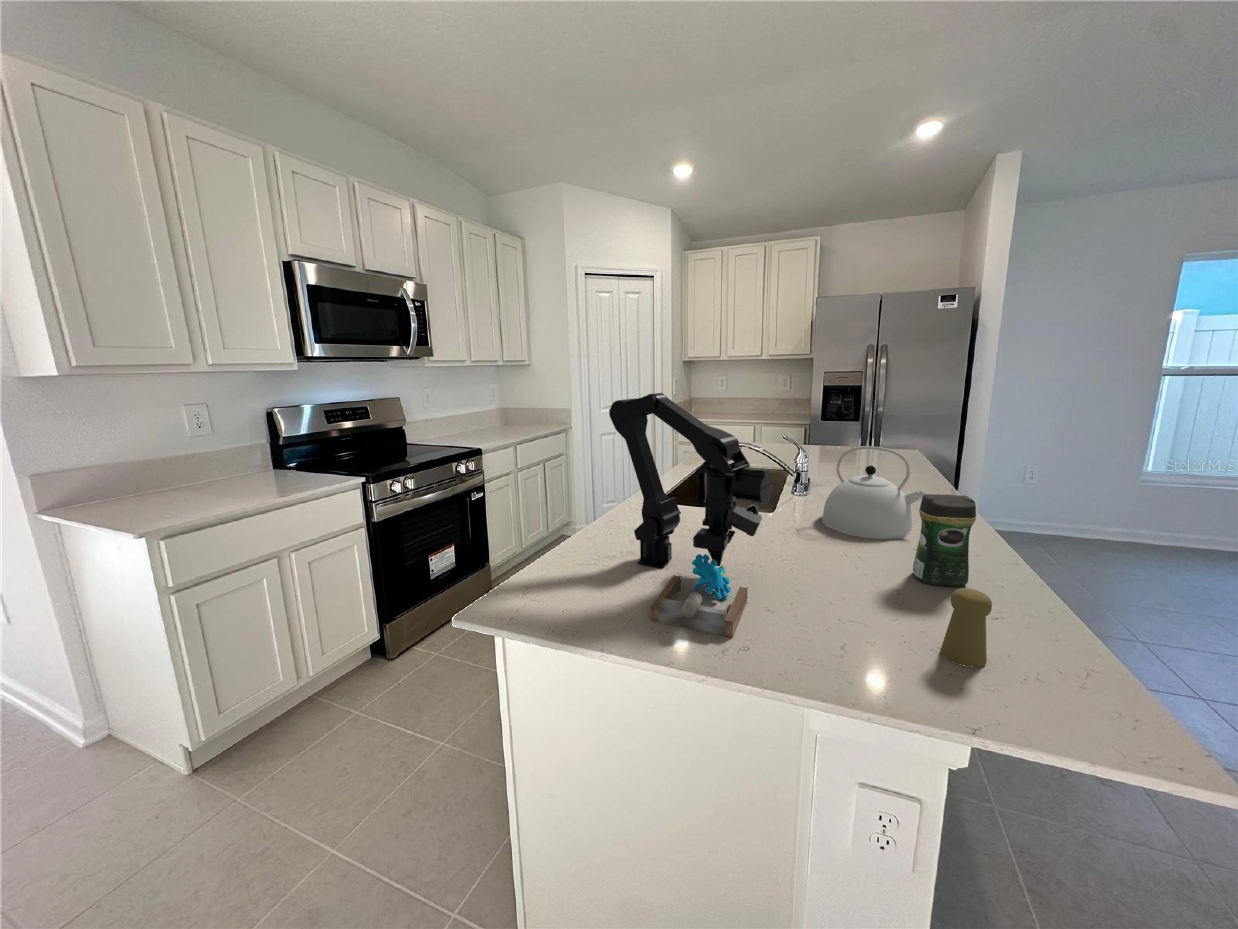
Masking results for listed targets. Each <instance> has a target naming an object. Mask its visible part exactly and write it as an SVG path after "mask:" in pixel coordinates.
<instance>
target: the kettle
mask: <svg viewBox="0 0 1238 929" xmlns="http://www.w3.org/2000/svg"><path fill="white" fill-rule="evenodd" d="M859 450H875V451H883V452H887V453H890V454H894V455H895V456H897V457H899V458H900V459H901V460H902V461H903V462H904V464H905V467H906V473H905V477H904V479H903V480H902V482H901V483H900V484H899V486H897V485H895V484H894V483H893V482H891V481H889V480H887V479H885V478H883V477H879V476H875V475H874V474H876V472H877V469H876V467H875V466H874V465H868V466H866V467H865V470H864V471H865V473H866V474H867V475H858V476H857V475H856V476H853V477H850V478H848V479H846V480H845V479H844V478H843V476H842V474H841V471H840V467H841V462H842V460H843V459H844V457H845V456H847V455H848V454H849V453H852V452H854V451H859ZM910 466H911V465H910V463H909V461H908V460H907V459H906V457H905V456H904V455H902V454H901V453H900V452H898V451H895V450H893V449H889V448H887V447H880V446H875V445H874V446H872V445H863V446H862V445H861V446H855V447H852V448H850V449H848V450H846V451H845V452H843V453H842V454H841V455H840V456H839V458H838V460H837V463H836V474H837V477H838V479H839V480H840V481H841V482H840V483H839V484H838V485H836V486H835V487H834V488H833V489H832V490H831V492H830V493H828V496H827V498H826V500H825V502H824V506H823V512H822V520H821V521H822V523H823V524H824V526H826V527H828V528H829V529H831V530H834V531H836V532H839V533H842V534H845V535H849V536H854V537H859V538H867V539H874V540H875V539H876V540H877V539H878V540H890V539H891V540H892V539H894V540H895V539H901V538H905V537H907V536H909V535H911V534H912V533H913V521H914V520H913V518H914V517H913V509H912V506H911V505H912V504H914V503H915V502H917V501H920V500H922V497H923V495H924V494H926V493H924V492H923V491H922V490H919V489H917V490H914V491H910V492H906V493H904V492H903V491H902V489H903V487H904V486H905V485H906V483H908V480H909V478H910V474H911V467H910Z"/></svg>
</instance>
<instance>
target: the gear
mask: <svg viewBox="0 0 1238 929" xmlns="http://www.w3.org/2000/svg"><path fill="white" fill-rule="evenodd" d="M710 559H711V556H710V555H708V554H706V553H705V554H704V555H702V554H699V553H698V554H697V555H695V559H693V560H692V561H691V564H692V565H693V566H694V568H692V574H693V575H695V576H696V575H697V576H699V578H697V579H696V582H697V583H696V584H694V586H693V589H694V590H695V591H698V590H699V589H700V588H702V587H703V586H704V585H707V587H706V588H704V591H705V592H706V593H707V594H708V595H712V593H713V592H715V593H713V597H714V598H715V599H716V600H720V599H724V600H725V599H727V598H729V593H730V592H732V587H730V586H729V585H730V584H731V580H730V578H729V577H725V574H726V569H727V568H726V566H725V565H724V564H721V565H720V566H718V567H717V566H716V565H717V564H718V563H717V561H716V560H715V559H713V560H712V559H711V560H710ZM709 560H710V562H709Z"/></svg>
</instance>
